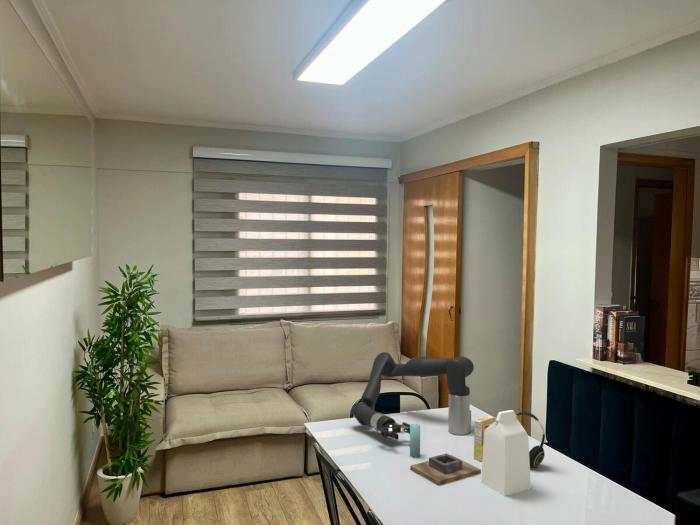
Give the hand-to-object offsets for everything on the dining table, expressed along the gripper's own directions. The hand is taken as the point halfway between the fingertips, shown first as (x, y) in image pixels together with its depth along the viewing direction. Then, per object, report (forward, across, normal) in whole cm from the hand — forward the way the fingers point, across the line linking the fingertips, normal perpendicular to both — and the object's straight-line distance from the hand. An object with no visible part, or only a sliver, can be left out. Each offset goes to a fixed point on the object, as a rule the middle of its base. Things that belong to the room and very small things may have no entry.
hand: (406, 435), depth 225 cm
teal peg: (+6, 0, -6) cm, 9 cm away
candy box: (+22, -22, -7) cm, 32 cm away
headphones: (+35, -30, -7) cm, 47 cm away
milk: (+44, -9, -6) cm, 45 cm away
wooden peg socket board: (+24, 0, -6) cm, 25 cm away
